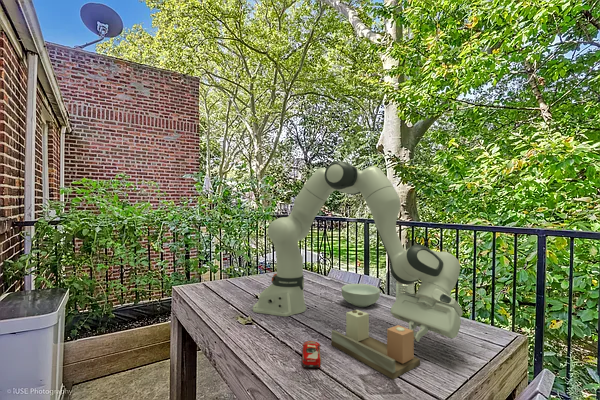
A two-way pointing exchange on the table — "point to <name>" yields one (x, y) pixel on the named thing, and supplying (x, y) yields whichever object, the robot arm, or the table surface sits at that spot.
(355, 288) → the cereal bowl
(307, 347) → the race car
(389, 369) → the board
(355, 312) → the cream rectangular block
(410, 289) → the water bottle
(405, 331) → the terracotta key
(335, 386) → the table surface
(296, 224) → the robot arm
